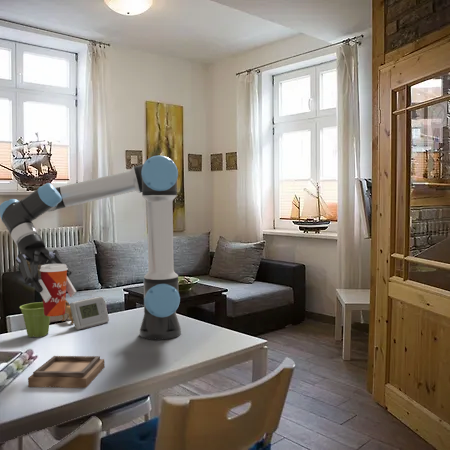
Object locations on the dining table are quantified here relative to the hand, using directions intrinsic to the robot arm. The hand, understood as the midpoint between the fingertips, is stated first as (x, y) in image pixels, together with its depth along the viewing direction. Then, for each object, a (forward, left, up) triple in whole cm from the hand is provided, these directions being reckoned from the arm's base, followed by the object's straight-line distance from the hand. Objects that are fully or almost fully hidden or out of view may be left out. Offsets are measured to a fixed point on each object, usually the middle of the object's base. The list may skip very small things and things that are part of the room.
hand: (61, 296), depth 148 cm
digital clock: (+8, -48, -22) cm, 53 cm away
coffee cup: (+3, -2, -6) cm, 7 cm away
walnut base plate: (-5, +8, -21) cm, 23 cm away
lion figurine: (+20, -55, -22) cm, 62 cm away
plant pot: (+23, -34, -22) cm, 46 cm away
